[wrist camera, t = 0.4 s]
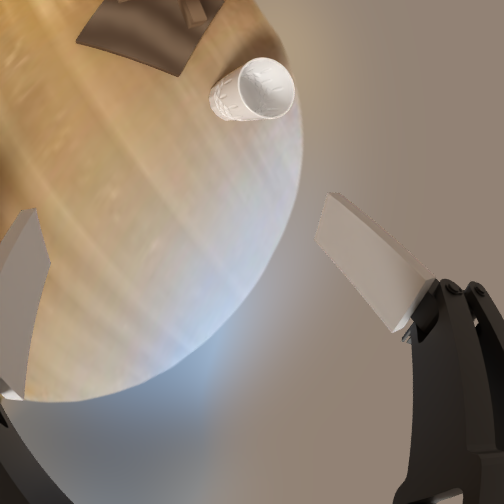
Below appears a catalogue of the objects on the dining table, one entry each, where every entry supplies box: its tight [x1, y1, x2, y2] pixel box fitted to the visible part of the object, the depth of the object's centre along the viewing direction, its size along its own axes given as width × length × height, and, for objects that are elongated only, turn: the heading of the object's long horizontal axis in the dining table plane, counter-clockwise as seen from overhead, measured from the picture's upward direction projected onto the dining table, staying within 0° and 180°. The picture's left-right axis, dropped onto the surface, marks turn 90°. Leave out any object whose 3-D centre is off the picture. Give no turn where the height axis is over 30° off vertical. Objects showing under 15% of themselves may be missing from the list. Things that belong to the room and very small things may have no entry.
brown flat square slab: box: [76, 0, 225, 77], centre depth 24 cm, size 16×16×3 cm
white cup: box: [209, 57, 295, 121], centre depth 32 cm, size 8×8×10 cm
